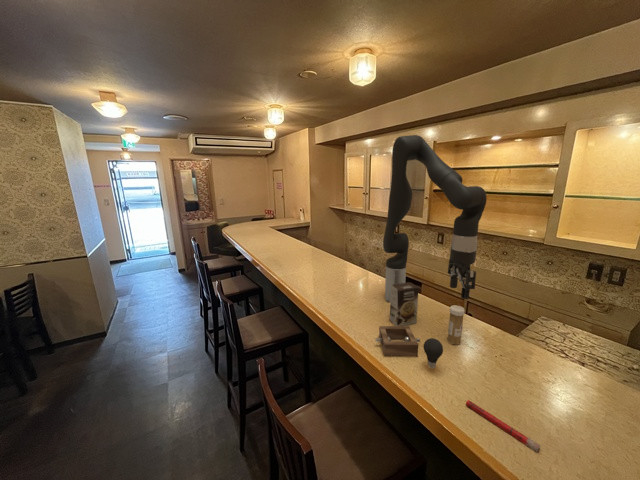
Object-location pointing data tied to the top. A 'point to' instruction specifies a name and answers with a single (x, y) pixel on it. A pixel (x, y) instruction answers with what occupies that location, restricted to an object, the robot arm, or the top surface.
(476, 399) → the top surface
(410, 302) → the coffee box
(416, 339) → the plunger
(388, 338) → the plunger
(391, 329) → the brown wooden square frame
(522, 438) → the flare
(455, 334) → the sprinkles bottle
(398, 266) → the robot arm
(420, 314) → the top surface
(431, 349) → the light bulb
